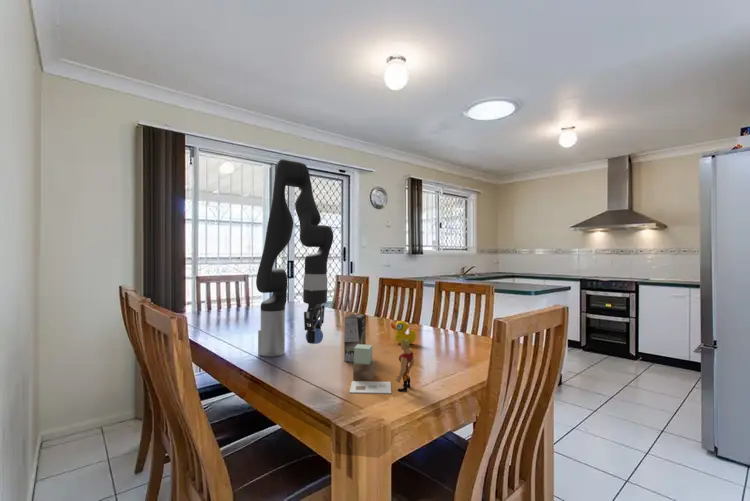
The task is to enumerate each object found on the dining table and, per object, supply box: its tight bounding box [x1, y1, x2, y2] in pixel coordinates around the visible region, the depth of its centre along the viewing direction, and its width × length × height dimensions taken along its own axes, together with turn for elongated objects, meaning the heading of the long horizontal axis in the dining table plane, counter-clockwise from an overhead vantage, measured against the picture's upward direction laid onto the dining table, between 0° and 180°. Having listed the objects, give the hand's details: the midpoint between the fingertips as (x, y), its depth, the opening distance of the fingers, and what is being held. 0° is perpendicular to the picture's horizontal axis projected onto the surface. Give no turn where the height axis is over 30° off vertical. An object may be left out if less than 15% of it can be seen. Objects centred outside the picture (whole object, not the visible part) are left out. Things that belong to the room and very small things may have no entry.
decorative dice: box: [305, 328, 324, 345], centre depth 123 cm, size 4×4×4 cm
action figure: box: [395, 338, 415, 392], centre depth 115 cm, size 10×4×15 cm, turn 156°
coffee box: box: [343, 313, 367, 363], centre depth 146 cm, size 9×6×16 cm
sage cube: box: [353, 344, 373, 365], centre depth 125 cm, size 5×5×5 cm
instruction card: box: [349, 380, 392, 395], centre depth 115 cm, size 12×9×1 cm
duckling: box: [390, 320, 417, 345], centre depth 169 cm, size 11×5×10 cm, turn 70°
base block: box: [352, 359, 376, 382], centre depth 125 cm, size 6×6×5 cm
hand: (314, 340), depth 123 cm, fingers closed on decorative dice, 5 cm apart
